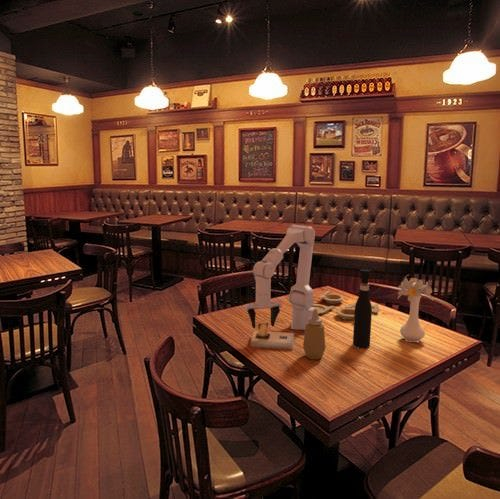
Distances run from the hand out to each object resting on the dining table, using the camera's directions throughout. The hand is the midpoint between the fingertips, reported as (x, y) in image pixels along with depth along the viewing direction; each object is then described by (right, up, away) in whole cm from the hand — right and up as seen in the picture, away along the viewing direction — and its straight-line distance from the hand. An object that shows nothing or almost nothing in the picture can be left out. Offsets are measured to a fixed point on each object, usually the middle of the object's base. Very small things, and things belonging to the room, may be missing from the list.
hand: (263, 326), depth 169 cm
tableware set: (+38, 0, +40) cm, 56 cm away
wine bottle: (+38, -7, -2) cm, 39 cm away
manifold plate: (+4, -7, +1) cm, 8 cm away
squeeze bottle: (+18, -9, -11) cm, 23 cm away
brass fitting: (0, -6, +1) cm, 7 cm away
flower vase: (+59, -6, +4) cm, 60 cm away
